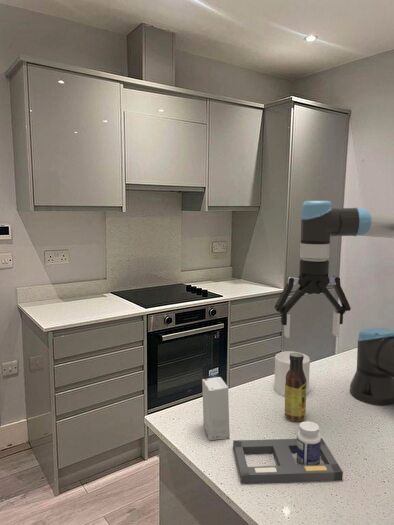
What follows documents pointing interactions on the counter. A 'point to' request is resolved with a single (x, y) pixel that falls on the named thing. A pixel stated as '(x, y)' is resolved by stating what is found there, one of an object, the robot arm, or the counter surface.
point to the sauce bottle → (295, 389)
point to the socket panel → (283, 463)
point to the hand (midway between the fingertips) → (311, 336)
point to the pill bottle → (308, 444)
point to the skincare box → (215, 408)
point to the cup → (283, 367)
